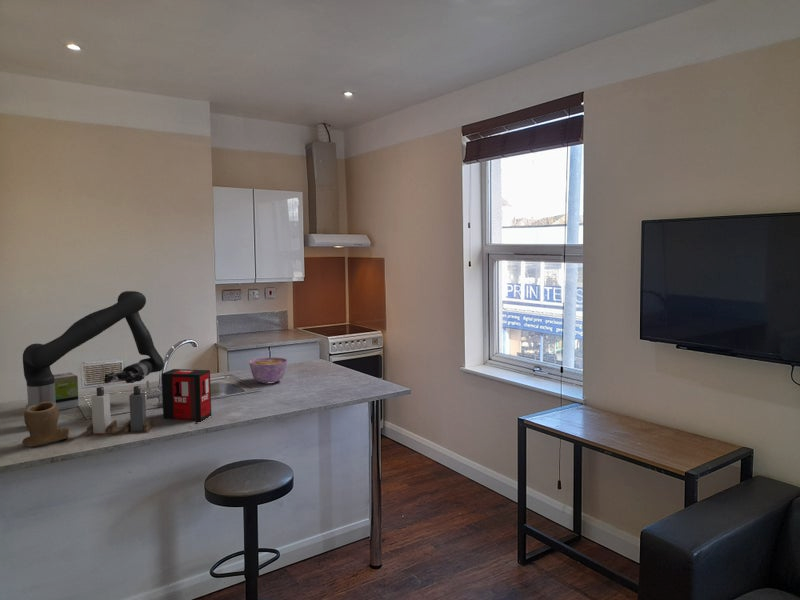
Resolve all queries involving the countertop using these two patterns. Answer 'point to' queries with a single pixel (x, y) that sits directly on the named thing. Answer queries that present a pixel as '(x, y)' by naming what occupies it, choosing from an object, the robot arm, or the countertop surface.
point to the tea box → (66, 390)
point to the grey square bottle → (137, 410)
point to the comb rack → (119, 429)
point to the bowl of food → (268, 369)
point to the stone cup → (43, 424)
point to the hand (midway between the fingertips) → (116, 380)
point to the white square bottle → (101, 411)
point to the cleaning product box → (186, 394)
